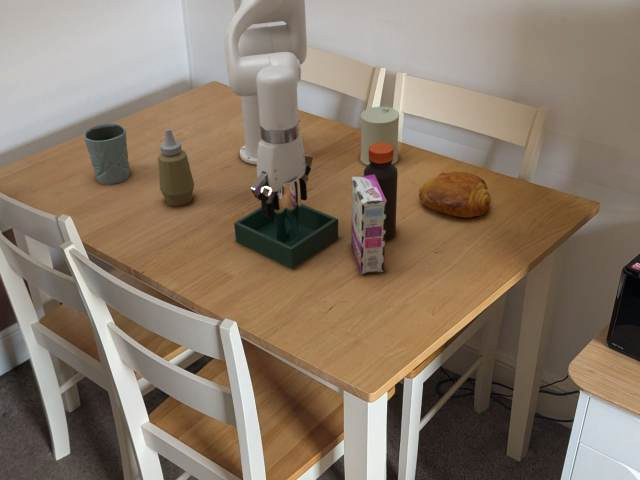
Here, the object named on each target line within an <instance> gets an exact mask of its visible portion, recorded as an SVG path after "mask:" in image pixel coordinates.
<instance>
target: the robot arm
mask: <svg viewBox="0 0 640 480" xmlns="http://www.w3.org/2000/svg"><path fill="white" fill-rule="evenodd" d="M233 6H234V8H233V9H234V15H233V16H232V18H231V20H230V21H229V24H228V26H227V29H226V33H225V37H224V55H225V64H226V72H227V78H228V83H229V88H230V89H231V92H232V93H233V94H235V95H236V96H239V97H240V107H241V117H242V126H243V127H242V129H243V137H244V138H243V139H244V145H242V146H241V148H240V149H239V157H240V159H241V161H243V162H245V163H247V164H249V165H255V166H256V180H255V182H254V183H253V184H252V185H251V186H250V192H251V193H252V194H253V197H254V198H256V199H257V200H258V201H260V203H261V204H260V207H262V215H263V216H264V217H267V218H269V219H271V220H274V219H275V208H274V202H272V199H273V197H274V195H275V192H276V191H279V190H281V189H282V186H283V184H285V183H290V182H292V181H294V180H295V179H296V178H297V176H298V175H299V181H300V189H301V201H306V200H308V190H307V183H308V181H309V175H310V173H311V171H312V164H313V161H314V156H312V155H309V154H305V148H304V143H303V138H302V134H301V132H300V126H299V125H300V122H301V119H300V117H299V109H298V108H299V105H298V85H299V82H300V81H301V79H302V67H301V65H302V64H303V63H305V61H306V59H307V54H308V53H307V51H308V43H307V42H308V41H307V20H306V1H305V0H233ZM278 22H279V23H280V22H284V24H279V25H278V24H277V25H271V26H267V25H266V26H260V27H252V28H250V27H251V26H253V25H260V24H261V25H262V24H269V23H270V24H271V23H278ZM268 185H269V186H270V187H269V186H268ZM267 190H270V192H269V194H268V196H267Z"/></svg>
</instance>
